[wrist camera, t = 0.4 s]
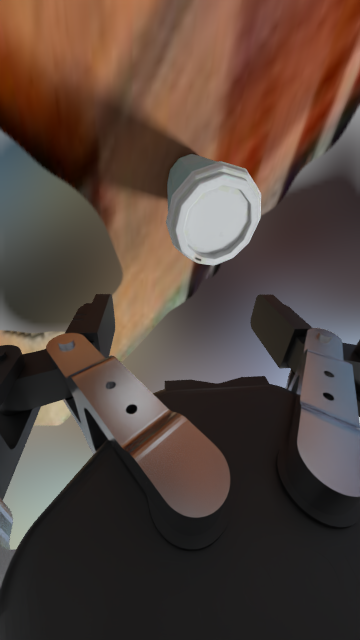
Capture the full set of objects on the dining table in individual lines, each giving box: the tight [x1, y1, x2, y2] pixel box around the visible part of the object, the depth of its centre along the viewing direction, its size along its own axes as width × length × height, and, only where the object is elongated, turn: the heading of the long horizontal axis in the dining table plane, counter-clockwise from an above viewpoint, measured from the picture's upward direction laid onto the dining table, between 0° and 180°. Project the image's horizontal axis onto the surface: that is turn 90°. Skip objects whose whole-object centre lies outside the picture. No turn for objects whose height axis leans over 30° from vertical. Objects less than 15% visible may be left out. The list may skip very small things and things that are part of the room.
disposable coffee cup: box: [166, 154, 261, 265], centre depth 28 cm, size 11×11×15 cm
